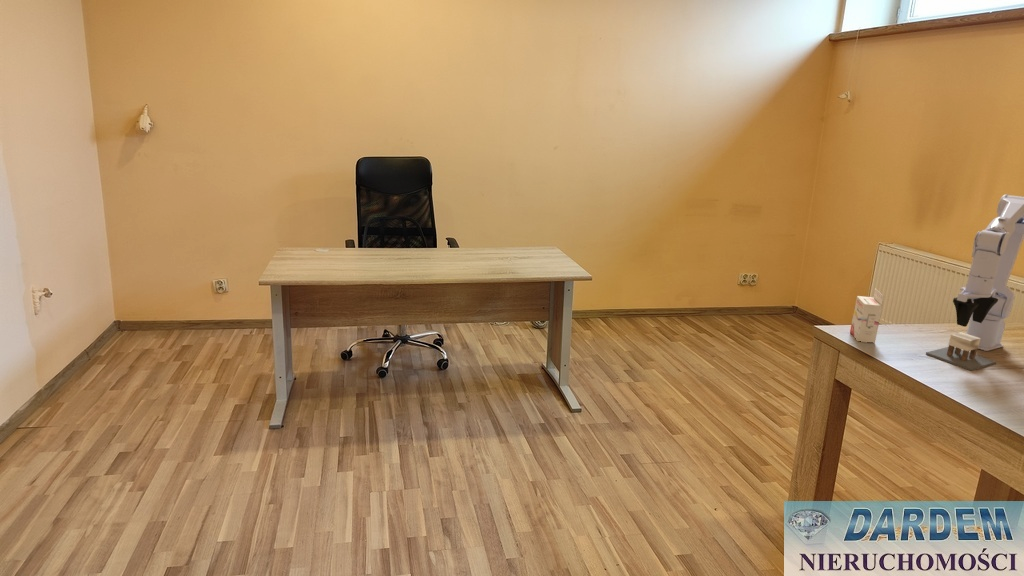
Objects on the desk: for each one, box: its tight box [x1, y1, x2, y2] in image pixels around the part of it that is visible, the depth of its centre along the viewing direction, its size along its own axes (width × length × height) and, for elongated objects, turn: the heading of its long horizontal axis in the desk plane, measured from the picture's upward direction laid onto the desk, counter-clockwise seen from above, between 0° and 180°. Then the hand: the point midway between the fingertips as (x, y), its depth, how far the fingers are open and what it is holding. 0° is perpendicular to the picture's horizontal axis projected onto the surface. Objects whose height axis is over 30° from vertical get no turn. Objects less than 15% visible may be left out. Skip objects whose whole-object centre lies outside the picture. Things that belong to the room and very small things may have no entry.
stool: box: [947, 331, 981, 361], centre depth 177 cm, size 5×5×6 cm
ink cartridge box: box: [849, 287, 884, 344], centre depth 190 cm, size 9×5×15 cm, turn 169°
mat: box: [925, 346, 997, 371], centre depth 178 cm, size 12×12×1 cm
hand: (969, 323), depth 175 cm, fingers open, 7 cm apart
